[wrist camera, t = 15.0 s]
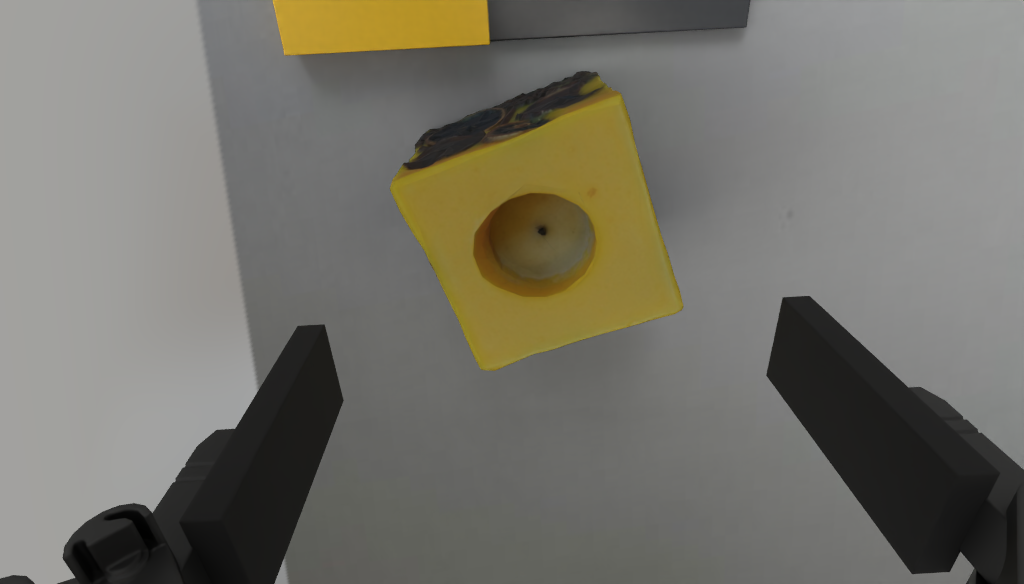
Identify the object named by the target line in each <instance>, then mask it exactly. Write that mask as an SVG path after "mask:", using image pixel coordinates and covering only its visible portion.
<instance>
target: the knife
mask: <svg viewBox="0 0 1024 584" xmlns="http://www.w3.org/2000/svg"><path fill="white" fill-rule="evenodd" d="M273 4H274V9H275V13H276V18H277V22H278V27H279V31H280V36H281V40H282V45H283V50H284V54H285V55H286V56H287V55H306V54H324V53H343V52H361V51H380V50H399V49H417V48H436V47H454V46H473V45H489V44H490V41H501V40H520V39H538V38H557V37H575V36H594V35H613V34H631V33H650V32H668V31H687V30H706V29H724V28H743V27H746V26H747V19H748V12H749V5H750V0H273Z"/></svg>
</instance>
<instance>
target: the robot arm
mask: <svg viewBox="0 0 1024 584" xmlns="http://www.w3.org/2000/svg"><path fill="white" fill-rule="evenodd" d="M766 376H767V377H768V378H769V380H770V381H771V382H772V384H773V385H774V386H775V388H776V389H777V391H778V392H779V393H780V395H781V396H782V397H783V399H784V400H785V401H786V403H787V404H788V406H789V407H790V408H791V410H792V411H793V412H794V414H795V415H796V416H797V418H798V419H799V421H800V422H801V423H802V425H803V426H804V427H805V429H806V430H807V431H808V433H809V434H810V436H811V437H812V438H813V440H814V441H815V442H816V444H817V445H818V446H819V448H820V449H821V451H822V452H823V453H824V455H825V456H826V457H827V459H828V460H829V461H830V463H831V464H832V466H833V467H834V468H835V470H836V471H837V472H838V474H839V475H840V476H841V478H842V479H843V481H844V482H845V483H846V485H847V486H848V487H849V489H850V490H851V491H852V493H853V494H854V496H855V497H856V498H857V500H858V501H859V502H860V504H861V505H862V506H863V508H864V509H865V511H866V512H867V513H868V515H869V516H870V517H871V519H872V520H873V521H874V523H875V524H876V526H877V527H878V528H879V530H880V531H881V532H882V534H883V535H884V536H885V538H886V539H887V541H888V542H889V543H890V545H891V546H892V547H893V549H894V550H895V551H896V553H897V554H898V556H899V557H900V558H901V560H902V561H903V562H904V564H905V565H906V566H907V568H908V569H909V571H910V572H911V573H912V574H920V573H937V572H950V570H951V568H952V566H953V565H954V563H955V561H956V559H957V557H958V555H959V553H960V551H961V552H962V554H963V555H964V556H965V557H966V558H967V560H968V561H969V562H970V563H971V564H972V565H973V567H974V570H973V572H972V574H971V576H970V577H969V579H968V581H967V583H966V584H1024V470H1023V469H1022V468H1021V467H1020V466H1019V465H1017V464H1016V463H1015V462H1014V461H1013V460H1012V459H1011V458H1010V457H1008V456H1007V455H1006V454H1005V453H1004V452H1003V451H1002V450H1000V449H999V448H998V447H997V446H996V445H995V444H994V443H992V442H991V441H990V440H989V439H988V438H987V437H986V436H985V435H983V434H982V433H978V429H977V428H975V427H974V426H973V425H972V424H971V423H970V422H969V421H967V420H964V419H963V416H962V415H961V414H960V413H958V412H957V411H956V410H955V409H954V408H953V407H952V406H950V405H949V404H948V403H947V402H946V401H945V400H943V399H941V398H939V397H938V396H936V395H934V394H932V393H930V392H928V391H927V390H925V389H923V388H921V387H911V388H908V387H907V386H906V385H905V384H904V383H903V382H902V381H901V380H900V379H899V378H898V377H896V376H895V375H894V374H893V373H892V372H891V371H890V370H889V369H888V368H887V367H886V366H885V365H883V364H882V363H881V362H880V361H879V360H878V359H877V358H876V357H875V356H874V355H873V354H872V353H871V352H869V351H868V350H867V349H866V348H865V347H864V346H863V345H862V344H861V343H860V342H859V341H858V340H856V339H855V338H854V337H853V336H852V335H851V334H850V333H849V332H848V331H847V330H846V329H845V328H844V327H842V326H841V325H840V324H839V323H838V322H837V321H836V320H835V319H834V318H833V317H832V316H831V315H829V314H828V313H827V312H826V311H825V310H824V309H823V308H822V307H821V306H820V305H819V304H818V303H817V302H815V301H814V300H813V299H812V298H811V297H810V296H801V297H784V298H783V299H782V304H781V308H780V313H779V318H778V323H777V328H776V332H775V337H774V342H773V347H772V351H771V356H770V361H769V366H768V370H767V375H766ZM342 403H343V397H342V392H341V388H340V384H339V380H338V376H337V372H336V368H335V364H334V360H333V356H332V352H331V348H330V344H329V340H328V336H327V332H326V328H325V324H324V325H307V326H297V328H296V330H295V331H294V333H293V335H292V336H291V338H290V340H289V341H288V343H287V345H286V346H285V348H284V350H283V351H282V353H281V354H280V356H279V358H278V359H277V361H276V363H275V364H274V366H273V368H272V369H271V371H270V373H269V374H268V376H267V378H266V379H265V381H264V382H263V384H262V386H261V387H260V389H259V391H258V392H257V394H256V396H255V397H254V399H253V401H252V402H251V404H250V405H249V407H248V409H247V410H246V412H245V414H244V415H243V417H242V419H241V420H240V422H239V424H238V425H237V427H236V429H225V430H216V431H215V432H214V433H212V434H211V435H210V436H209V437H208V438H206V439H205V440H204V441H203V442H202V443H200V444H199V445H198V446H197V447H196V449H195V450H194V452H193V453H192V455H191V457H190V458H189V459H188V461H187V462H186V466H185V467H184V468H182V470H181V471H180V473H179V475H178V476H177V477H176V481H175V482H174V483H172V485H171V486H170V488H169V489H168V491H167V492H166V494H165V495H164V497H163V498H162V500H161V501H160V503H159V504H158V506H157V507H156V509H155V510H154V512H153V513H152V512H151V511H150V510H149V509H148V508H147V507H146V506H144V505H140V504H135V503H133V504H126V505H119V506H117V507H114V508H111V509H109V510H106V511H104V512H102V513H100V514H98V515H97V516H95V517H93V518H92V519H90V520H89V521H87V522H86V523H85V524H83V525H82V526H81V527H80V528H79V529H78V530H77V531H76V532H75V533H74V534H73V535H72V536H71V538H70V539H69V541H68V542H67V544H66V545H65V547H64V553H63V560H64V561H65V563H66V564H67V566H68V567H69V568H70V570H71V571H72V573H73V574H74V576H75V577H76V578H73V579H70V580H67V581H64V582H61V583H58V584H274V583H275V580H276V578H277V575H278V572H279V570H280V567H281V564H282V562H283V559H284V556H285V554H286V551H287V549H288V546H289V543H290V541H291V538H292V535H293V533H294V530H295V527H296V525H297V522H298V519H299V517H300V514H301V512H302V509H303V506H304V504H305V501H306V498H307V496H308V493H309V490H310V488H311V485H312V482H313V480H314V477H315V475H316V472H317V469H318V467H319V464H320V461H321V459H322V456H323V453H324V451H325V448H326V445H327V443H328V440H329V438H330V435H331V432H332V430H333V427H334V424H335V422H336V419H337V416H338V414H339V411H340V408H341V406H342ZM0 584H34V582H33V581H31V580H30V579H29V578H28V577H27V576H16V575H12V576H9V577H5V578H1V579H0Z"/></svg>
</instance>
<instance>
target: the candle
mask: <svg viewBox="0 0 1024 584" xmlns="http://www.w3.org/2000/svg"><path fill="white" fill-rule="evenodd" d="M415 152H416V153H415V154H414V156H413V157H412V158H411V159H410V161H409V163H404V164H403V165H402V167H401V168H400V170H399V171H398V173H397V175H396V176H395V177H394V178H393V180H392V184H391V187H390V191H391V193H392V195H393V197H394V199H395V201H396V204H397V206H398V208H399V210H400V212H401V214H402V216H403V217H404V219H405V221H406V222H407V224H408V226H409V227H410V229H411V231H412V232H413V234H414V236H415V237H416V239H417V240H418V242H419V243H420V245H421V246H422V248H423V249H424V251H425V253H426V255H427V257H428V260H429V262H430V264H431V266H432V268H433V269H434V271H435V273H436V275H437V277H438V279H439V281H440V284H441V286H442V288H443V290H444V292H445V294H446V296H447V298H448V300H449V302H450V304H451V306H452V308H453V310H454V312H455V314H456V316H457V318H458V320H459V322H460V325H461V327H462V330H463V332H464V335H465V337H466V340H467V342H468V344H469V346H470V348H471V351H472V353H473V355H474V357H475V359H476V361H477V363H478V365H479V367H480V368H481V370H492V371H495V370H498V369H500V368H502V367H505V366H507V365H510V364H512V363H514V362H517V361H519V360H521V359H524V358H526V357H528V356H531V355H533V354H537V353H541V352H545V351H549V350H553V349H556V348H559V347H562V346H565V345H568V344H571V343H574V342H577V341H580V340H584V339H587V338H590V337H593V336H597V335H600V334H604V333H607V332H611V331H615V330H619V329H622V328H626V327H630V326H634V325H637V324H640V323H644V322H647V321H650V320H654V319H658V318H661V317H665V316H669V315H672V314H676V313H677V312H679V311H681V310H682V309H683V303H682V299H681V294H680V290H679V288H678V285H677V282H676V279H675V277H674V273H673V270H672V267H671V263H670V260H669V256H668V253H667V250H666V247H665V245H664V242H663V239H662V236H661V233H660V229H659V226H658V222H657V219H656V215H655V212H654V209H653V205H652V202H651V198H650V194H649V191H648V187H647V184H646V180H645V177H644V173H643V169H642V166H641V163H640V159H639V156H638V153H637V149H636V146H635V142H634V137H633V132H632V127H631V122H630V118H629V115H628V112H627V109H626V107H625V104H624V101H623V98H622V95H621V93H619V92H618V91H612V89H611V87H610V88H608V87H607V85H606V84H605V83H603V82H602V81H601V80H600V76H599V75H598V73H597V72H593V73H590V72H587V71H582V72H577V73H576V74H575V75H574V76H573V77H569V78H565V79H564V80H563V81H561V82H553V83H551V84H550V85H548V86H547V87H545V88H541V89H537V90H536V91H533V92H530V93H528V94H523V93H522V94H521V95H519V96H517V97H515V98H513V99H511V100H507V101H506V102H504V103H502V104H501V105H499V106H495V107H493V108H490V109H486V110H482V111H478V112H476V113H474V114H471V115H468V116H466V117H465V118H464V119H462V120H460V121H458V122H456V123H452V124H448V125H445V126H444V127H442V128H440V129H430V130H429V131H427V132H426V133H424V134H423V135H422V136H421V137H420V140H419V141H418V142H417V143H416V144H415Z"/></svg>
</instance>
